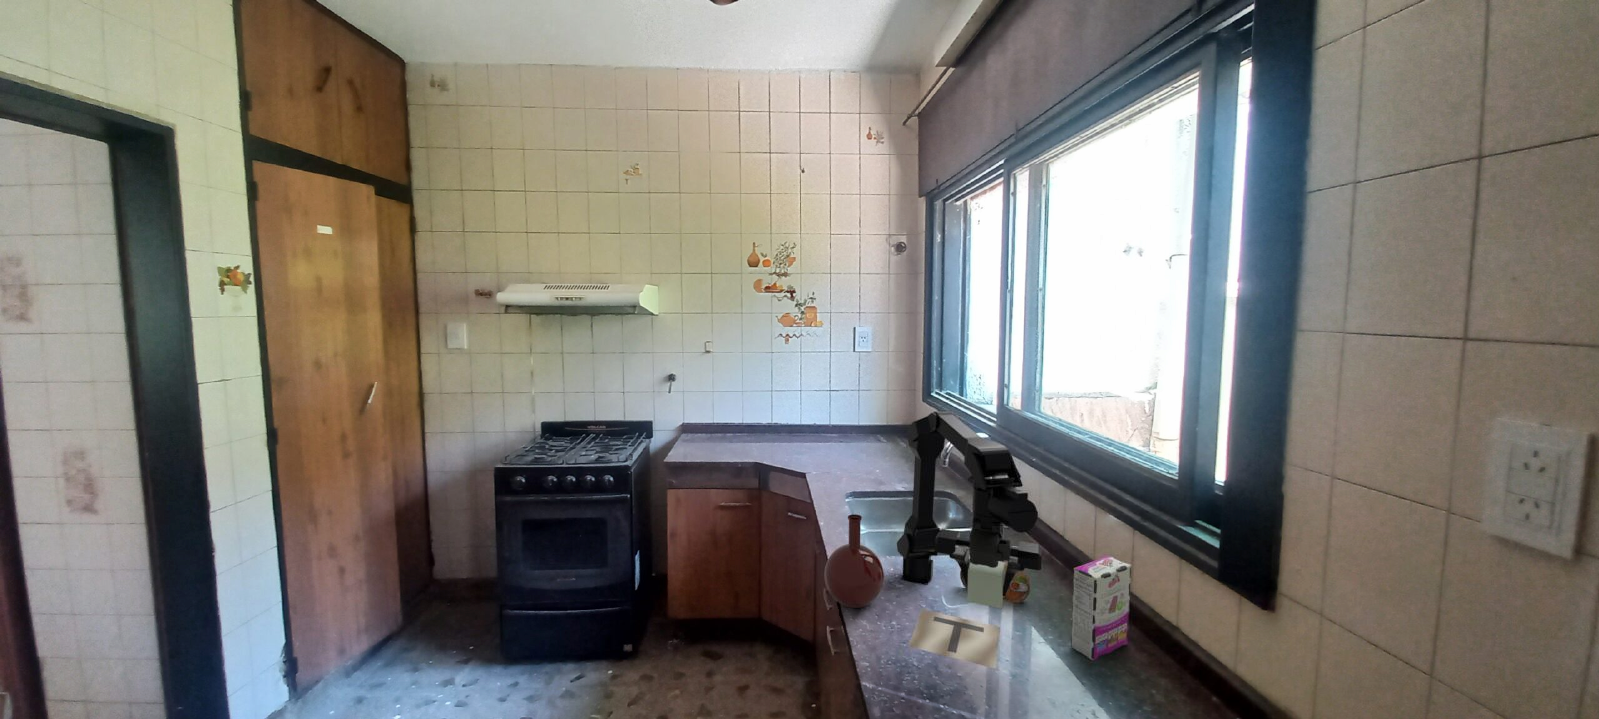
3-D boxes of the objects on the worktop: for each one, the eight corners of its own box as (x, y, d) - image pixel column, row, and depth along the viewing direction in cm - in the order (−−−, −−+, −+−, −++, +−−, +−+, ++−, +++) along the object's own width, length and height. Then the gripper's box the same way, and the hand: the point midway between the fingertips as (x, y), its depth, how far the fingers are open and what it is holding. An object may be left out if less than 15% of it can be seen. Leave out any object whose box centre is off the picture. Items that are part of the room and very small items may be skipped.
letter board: (908, 648, 103) (908, 645, 103) (921, 610, 116) (922, 609, 116) (995, 670, 96) (995, 668, 96) (1000, 628, 109) (1000, 626, 109)
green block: (967, 601, 99) (968, 570, 99) (971, 586, 105) (972, 557, 104) (1001, 608, 97) (1002, 576, 96) (1003, 593, 102) (1004, 563, 102)
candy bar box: (1103, 631, 109) (1108, 554, 107) (1128, 645, 104) (1133, 564, 103) (1068, 647, 103) (1072, 566, 102) (1092, 662, 99) (1097, 578, 97)
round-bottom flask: (845, 627, 110) (846, 533, 108) (813, 596, 121) (814, 512, 119) (895, 610, 116) (897, 522, 114) (861, 583, 127) (862, 502, 126)
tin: (959, 591, 124) (960, 556, 123) (961, 585, 127) (962, 551, 126) (1028, 608, 117) (1030, 571, 116) (1030, 601, 120) (1031, 565, 119)
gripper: (929, 518, 96) (928, 601, 97) (1042, 536, 88) (1039, 625, 90) (940, 499, 106) (939, 575, 107) (1042, 514, 99) (1039, 594, 100)
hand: (986, 591), depth 101 cm, fingers closed on green block, 6 cm apart
